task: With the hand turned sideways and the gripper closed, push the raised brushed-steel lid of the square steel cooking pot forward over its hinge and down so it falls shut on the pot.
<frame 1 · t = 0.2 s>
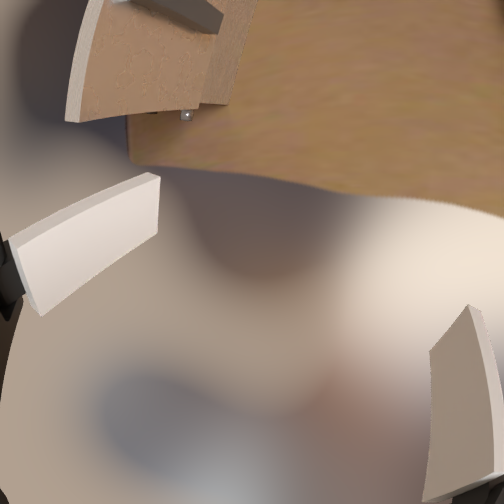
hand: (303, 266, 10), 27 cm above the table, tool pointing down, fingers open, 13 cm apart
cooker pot: (246, 48, 31), on the table
lid: (180, 8, 15), point 18 cm above the table, hinge at 100.0°
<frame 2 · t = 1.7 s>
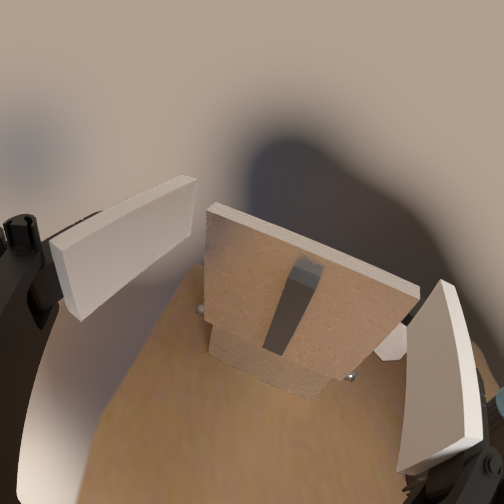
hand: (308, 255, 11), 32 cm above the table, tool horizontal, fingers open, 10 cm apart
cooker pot: (258, 381, 39), on the table
jar: (384, 346, 50), on the table
lid: (288, 315, 27), point 18 cm above the table, hinge at 100.0°
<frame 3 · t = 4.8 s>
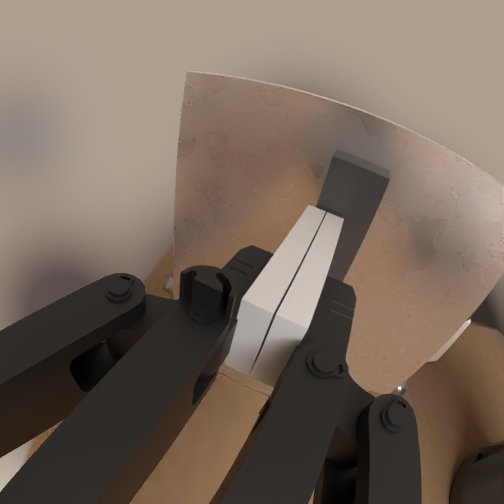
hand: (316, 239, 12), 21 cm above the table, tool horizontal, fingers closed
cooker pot: (257, 395, 27), on the table
jar: (417, 344, 37), on the table
lid: (319, 271, 15), point 19 cm above the table, hinge at 94.1°, touching gripper
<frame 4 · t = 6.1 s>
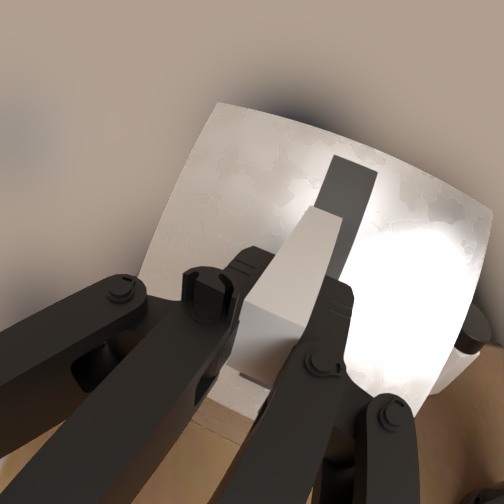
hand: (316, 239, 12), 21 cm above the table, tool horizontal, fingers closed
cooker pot: (227, 444, 21), on the table
jar: (418, 374, 32), on the table
lid: (308, 285, 14), point 18 cm above the table, hinge at 55.7°, touching gripper
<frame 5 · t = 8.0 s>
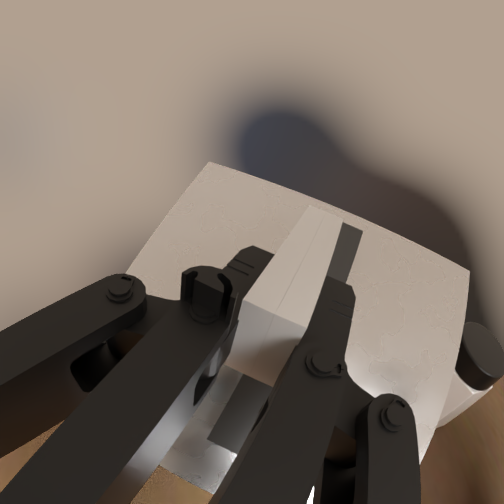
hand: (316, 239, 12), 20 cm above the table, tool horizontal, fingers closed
jar: (423, 405, 27), on the table
lid: (289, 344, 13), point 16 cm above the table, hinge at 30.4°, touching gripper
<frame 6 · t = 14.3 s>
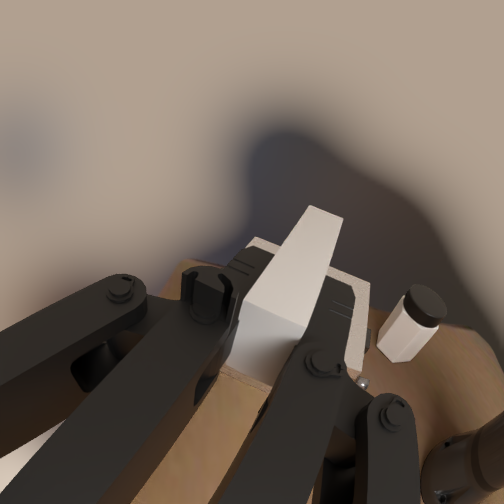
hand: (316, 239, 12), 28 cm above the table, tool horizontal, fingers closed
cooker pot: (254, 390, 34), on the table
jar: (393, 346, 45), on the table
lid: (299, 292, 34), point 12 cm above the table, hinge at -0.1°
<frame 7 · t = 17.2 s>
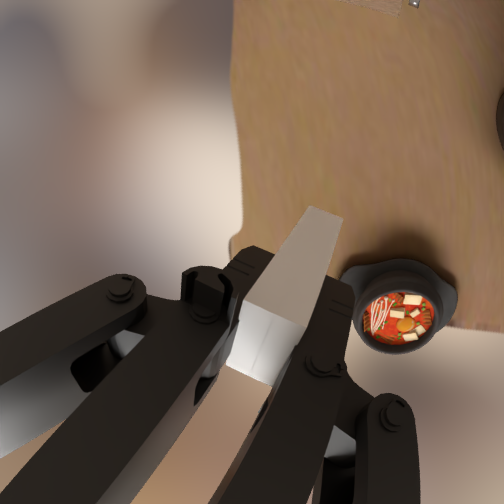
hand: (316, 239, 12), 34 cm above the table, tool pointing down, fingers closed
casserole: (397, 296, 48), on the table
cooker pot: (342, 3, 28), on the table
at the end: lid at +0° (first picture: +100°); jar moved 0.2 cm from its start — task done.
